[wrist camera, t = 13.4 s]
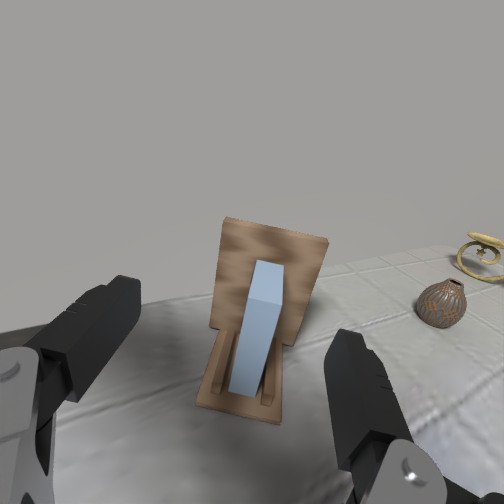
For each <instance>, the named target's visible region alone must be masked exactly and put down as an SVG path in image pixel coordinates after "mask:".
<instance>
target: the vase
mask: <svg viewBox="0 0 504 504" xmlns="http://www.w3.org/2000/svg"><path fill="white" fill-rule="evenodd" d="M466 307H467V302H466V298H465V294H464V285H463V284H462V283H461V282H459V281H457V280H455V279H451V278H449V279H447V280H445V281H443V282H440V283H437V284H434V285H431V286H429V287H428V288H426V289H425V290H424V291H423V292H422V293H421V295H420V296H419V298H418V301H417V312H418V314H419V316H420V318H421V319H422V320H423V321H424V322H426V323H427V324H429V325H431V326H434V327H438V328H445V327H450V326H452V325H454V324H456V323H457V322H458V321H459V320H460V319H461V318H462V317H463V315H464V313H465V311H466Z"/></svg>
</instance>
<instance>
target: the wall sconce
mask: <svg viewBox="0 0 504 504" xmlns="http://www.w3.org/2000/svg"><path fill="white" fill-rule="evenodd" d="M468 236H469V237H471V238H472V239H474V240H476V241H473V242H469V243H467V244H465V245H464V246H463V247H462V248H461V249H460V250H459V252H458V254H457V263H458V265H459V267H460V268H461V269H462V270H463V271H464V272H465V273H466V274H468V275H470V276H472V277H474V278H476V279H479V280H484V281H498V280H503V279H504V275H502V276H499V277H491V278H489V277H482V276H478V275H476V274H473V273H472V272H470V271H468V270H467V269H466V268H465V267H464V266H463V264H462V262H461V255H462V253H463V251H464V250H465V249H466V248H467V247H469V246H471V245H480V246H481V247H482V248H483V249H482V250H478V249H477V251H478V253H476V254H480V255H481V256H482V255H483V254H485V253H486V252H484V249H487V248H488V249H490V250H492V251H493V252H494V253H495V255H496V257H495V259H494V260H492V261H486V260H485V259H480V260H481V261H482V262H483V263H485V264H489V265H491V264H495V263H497V262H498V261H499V260H500V252H499V251H498V250H497V249H496V248H500V249H504V242H503V241H500V240H498V239H495V238H492V237H489V236H486V235H483V234H479V233H473V232H468ZM494 247H496V248H494Z"/></svg>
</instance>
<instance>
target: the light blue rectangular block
mask: <svg viewBox="0 0 504 504" xmlns="http://www.w3.org/2000/svg"><path fill="white" fill-rule="evenodd" d="M283 271H284V265H279V264H275V263H270V262H266V261H261V260H257V262H256V266H255V271H254V275H253V279H252V283H251V287H250V291H249V295H248V300H247V304H246V309H245V314H244V318H243V323H242V328H241V333H240V337H239V342H238V347H237V351H236V356H235V361H234V366H233V370H232V375H231V380H230V384H229V389H228V391H229V392H233V393H237V394H241V395H245V396H249V397H254V398H255V395H256V392H257V389H258V385H259V382H260V378H261V375H262V372H263V368H264V365H265V362H266V358H267V355H268V351H269V348H270V345H271V341H272V338H273V334H274V331H275V328H276V324H277V321H278V318H279V314H280V311H281V307H282V296H283Z"/></svg>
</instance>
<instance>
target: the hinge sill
mask: <svg viewBox="0 0 504 504" xmlns="http://www.w3.org/2000/svg"><path fill="white" fill-rule="evenodd" d="M328 245H329V242H328V239H327V238H323V237H318V236H314V235H309V234H304V233H300V232H294V231H290V230H285V229H281V228H276V227H271V226H267V225H262V224H257V223H253V222H248V221H243V220H239V219H234V218H229V217H226V218H225V219H224V220H223V225H222V233H221V241H220V248H219V256H218V263H217V271H216V279H215V286H214V294H213V301H212V309H211V316H210V324H209V327H212V328H216V329H219V332H218V335H217V338H216V341H215V344H214V347H213V350H212V353H211V356H210V359H209V362H208V365H207V368H206V371H205V374H204V377H203V380H202V383H201V386H200V389H199V392H198V395H197V398H196V401H195V405H196V406H200V407H205V408H209V409H213V410H217V411H221V412H226V413H230V414H234V415H238V416H242V417H247V418H251V419H255V420H259V421H264V422H268V423H272V424H276V425H280V423H281V386H282V344H287V345H291V346H293V344H294V342H295V339H296V336H297V333H298V330H299V328H300V325H301V322H302V319H303V316H304V313H305V311H306V308H307V305H308V302H309V299H310V296H311V294H312V291H313V288H314V285H315V282H316V280H317V277H318V274H319V271H320V268H321V265H322V263H323V260H324V257H325V254H326V251H327V248H328ZM257 260H261V261H266V262H270V263H275V264H279V265H284V271H283V296H282V307H281V311H280V314H279V318H278V321H277V324H276V328H275V331H274V334H273V338H272V341H271V345H270V348H269V351H268V355H267V358H266V362H265V365H264V368H263V372H262V375H261V378H260V382H259V385H258V389H257V392H256V395H255V398H254V397H249V396H245V395H241V394H237V393H233V392H229V391H228V389H229V384H230V380H231V375H232V370H233V366H234V361H235V356H236V351H237V347H238V342H239V337H240V333H241V328H242V323H243V318H244V314H245V309H246V304H247V300H248V295H249V291H250V287H251V283H252V279H253V275H254V271H255V266H256V262H257Z"/></svg>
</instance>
